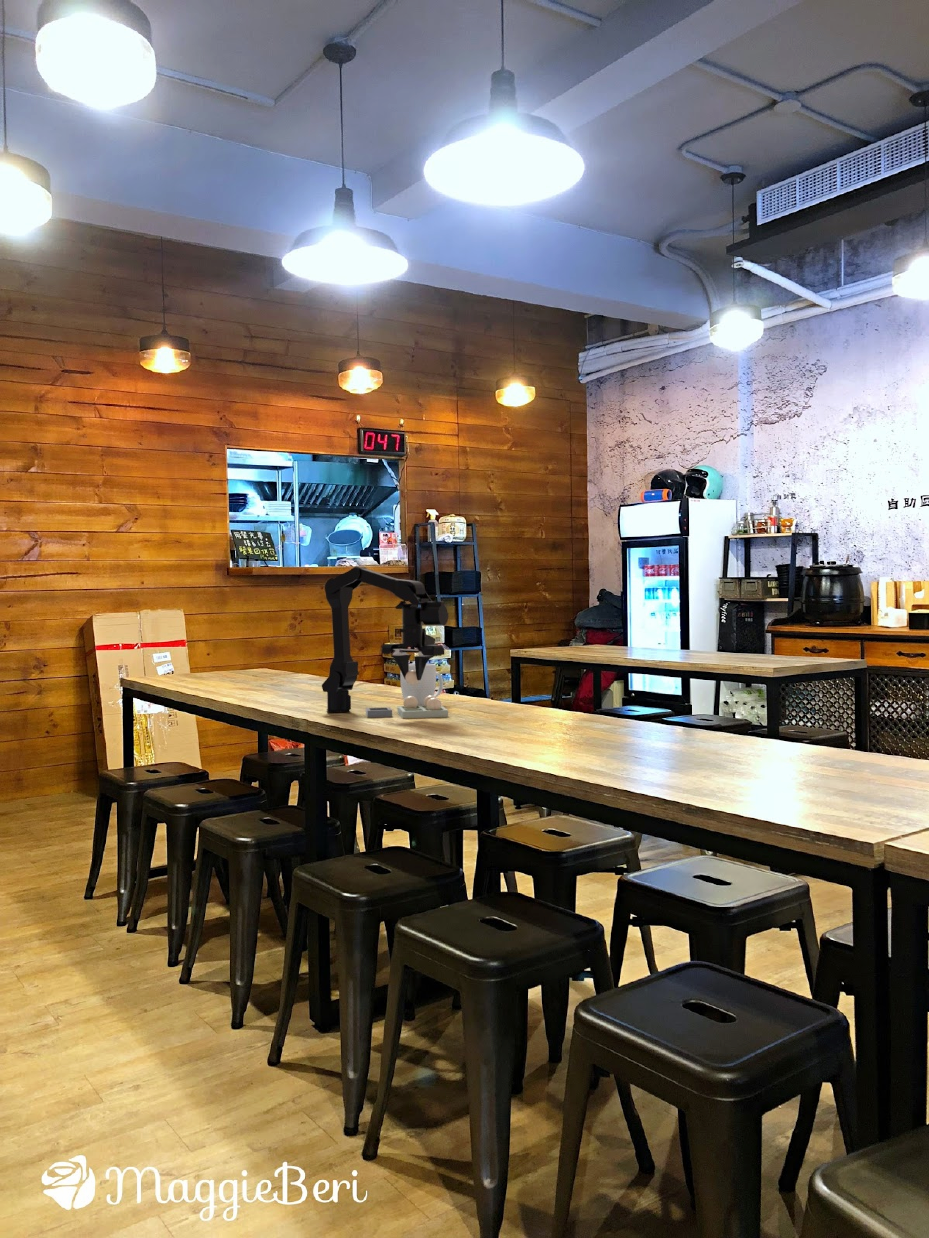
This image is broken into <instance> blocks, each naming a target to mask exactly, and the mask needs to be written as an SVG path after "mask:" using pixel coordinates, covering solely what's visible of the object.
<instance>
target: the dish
mask: <svg viewBox="0 0 929 1238" xmlns="http://www.w3.org/2000/svg"><path fill="white" fill-rule="evenodd" d="M365 715H366V717H367V718H393V709H392V708H391V707H389V706H387V707H385V706H384V707H382V706H381V707H365Z"/></svg>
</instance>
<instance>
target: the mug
mask: <svg viewBox="0 0 929 1238" xmlns="http://www.w3.org/2000/svg"><path fill="white" fill-rule="evenodd" d="M411 670H414V671H416V668H415V663H409V671H411ZM399 673H400V674H399V675H400V677H399V679H400V690H401V694H402V698H403V700H404V699H405V698H406V697H408V696H413V697H415V698H416V699H417V701H418V705H417V706H421V705H424V700H425V698H426V697H427V696H430V695H432V696H435V697H436V698H438V697H439V696H440V695H441V693H442V691H443V689H444V679H443V676H442V675H441V673H440V672H438V671H437V664H435V663H427V664H426V666H425V669H424V672H423V675H422V678H421V680H419V682H418V683H417V684H415V685H410V684H408V683H407V682H406V680H405V679H404V676H403V674H402V672H401V670H400V672H399ZM437 678H438V683H439V684H438V685H439V686H438V689H437V691H436V687H437V686H436V685H437Z"/></svg>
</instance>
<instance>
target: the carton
mask: <svg viewBox="0 0 929 1238" xmlns="http://www.w3.org/2000/svg"><path fill="white" fill-rule="evenodd" d="M402 704H403V705H399V706H398V705H397V706H396V707H397V709H396V711H397V714H398V715H399V716H400V717H401V718H402V719H423V718H424V719H425V718H428V719H429V718H449V710H448V709H447V707H445V706H443V705H442V701H441V700H440V699H439V698H438V697H435V696H432V695H430V696H427V697H426V698H425V700H424V705H421V706H417V705H418V701H417V699H416V698H415V697H413V696H408V697H406V698H405V699H403V703H402Z"/></svg>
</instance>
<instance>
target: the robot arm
mask: <svg viewBox="0 0 929 1238" xmlns="http://www.w3.org/2000/svg"><path fill="white" fill-rule="evenodd" d="M362 583H365V584H367V585H370V586H373V587H376V588H379V589H382V590H386V591H388V592H390V593H392V594H393V595H394V596H395V597H397V598H398V599H400V601H399V603H398V604H397V605H396V606H395V607H394V609H396V610H402V612H401V614H402V617H401V621H402V623H401V624H402V625H401V628H399V633H401V634H402V635H401V636H402V639H401V640H402V642H401V643H400V642H399V643H398V642H397V643H396V642H395V643H383V645H382V646H381V654H382V655H390V656H391V658H393V659H394V661H395V662H396V664H397V666H398V668H399V669H400V671H401V672H402V674H403V676H404V679H405V676H406V674H407V672H409V664H410V662H409V660H410V659H411V656H412V653H416V654H418V655H415V656H413V659H414V664H415V668H416V676H417V680H421V678H422V675H423V672H424V669H425V666H426V664H428V663H429V660H430V659H431V658H434V657H436V656H442V655H443V656H444V655H445V648H444V646H443V645H442V644H436V638H435V637H433V636H431V635H430V634H426V633H427V631H426V630H427V629H426V628H423V625H425V626H445V625H446V624H447V623H448V621H449V612H448V609H447V607H446V605H445V601H443V600H442V601H441V600H439V601H438V600H437V601H433V600H432V599H431V597H430V596H429V594H428V593H427V591H426V587H425V585H424V583H423V582H421V581H420V580H419V581H418V580H411V579H400V578H396V577H392V576H390V575H386V574H384V573H380V572H377V571H375V570H373V569H372V570H371V569H368V568H367V567H365V566H354V567H353V568H351V569H349V570H347V571H346V572H343V573H341V574H339V575H337V576H336V577H332V578H329V579H327V581H326V582H325V583H324V593H325V599H326V601H327V603H328V605H329V606H330V609H331V621H332V622H331V623H332V624H331V625H332V640H333V641H332V644H333V658H332V660H331V663H330V664H329V665H330V666H329V670H328V671H329V672H328V677H327V678H326V679H325V681H324V682H323V683H322V684H321V689H322V692H325V693H326V694H327V695H326V699H327V700H326V706H327V708H326V712H327V713H331V714H332V713H333V714H334V713H350V711H351V710H352V702H351V701H352V697H351V695H350V692H349V691H352V690H353V688H354V684H355V683H356V682H357V680H358V676H359V675H360V672H359V661H357V660H356V661H355V660H354V659H353V658H352V655H351V640H350V638H351V637H350V621H349V620H350V617H349V606H350V605H351V602H352V599H353V591H355V589H357V588H358V587H360V585H361V584H362ZM407 602H409V603H407ZM408 653H411V654H408ZM391 654H392V655H391ZM405 680H406V679H405Z"/></svg>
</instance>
